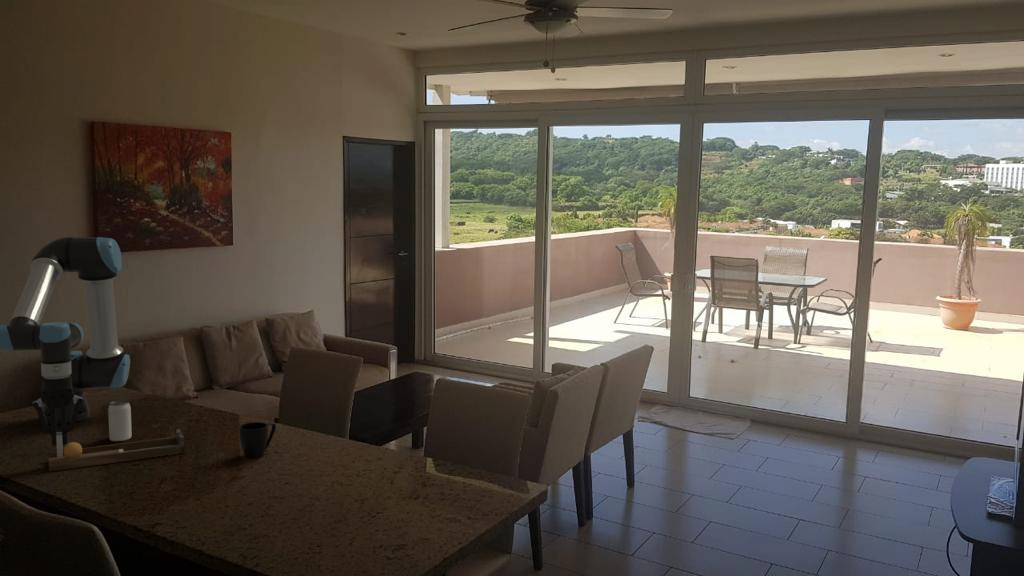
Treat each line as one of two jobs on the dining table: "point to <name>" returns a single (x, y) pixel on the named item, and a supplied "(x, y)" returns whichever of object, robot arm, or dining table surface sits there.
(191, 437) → the dining table surface
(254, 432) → the mug
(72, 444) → the ball
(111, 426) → the can
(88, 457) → the lane
